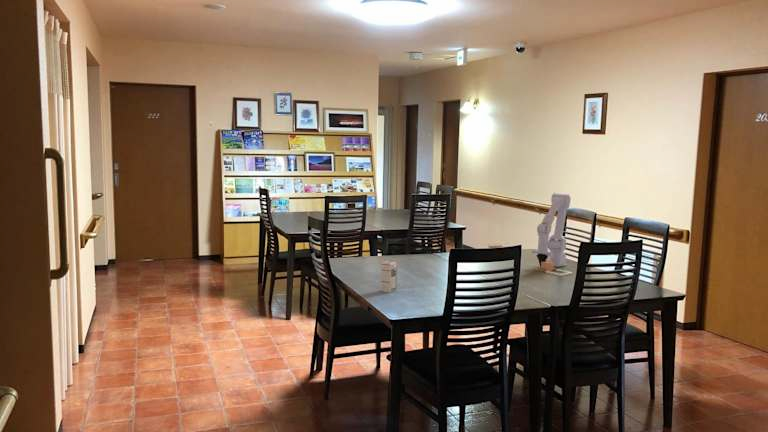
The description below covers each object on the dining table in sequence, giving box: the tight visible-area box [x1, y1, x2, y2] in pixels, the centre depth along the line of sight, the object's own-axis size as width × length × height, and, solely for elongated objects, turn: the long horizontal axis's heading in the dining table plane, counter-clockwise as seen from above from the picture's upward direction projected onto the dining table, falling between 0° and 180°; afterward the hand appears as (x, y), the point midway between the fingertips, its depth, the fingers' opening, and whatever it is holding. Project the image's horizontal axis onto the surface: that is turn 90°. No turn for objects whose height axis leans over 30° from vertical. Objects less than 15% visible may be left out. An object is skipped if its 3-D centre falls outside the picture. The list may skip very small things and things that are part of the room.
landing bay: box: [545, 268, 574, 277], centre depth 362 cm, size 11×10×1 cm
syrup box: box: [380, 260, 398, 293], centre depth 308 cm, size 6×6×14 cm
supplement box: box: [487, 243, 504, 249], centre depth 376 cm, size 8×5×13 cm, turn 84°
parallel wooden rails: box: [532, 265, 558, 273], centre depth 370 cm, size 8×11×2 cm
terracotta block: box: [541, 260, 554, 272], centre depth 369 cm, size 5×5×5 cm
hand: (541, 266), depth 372 cm, fingers closed
